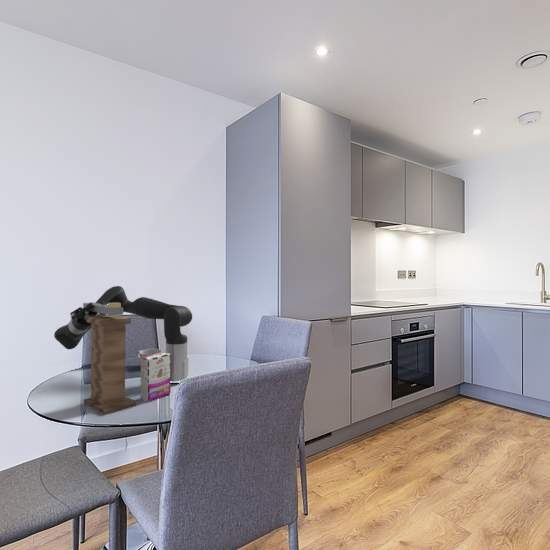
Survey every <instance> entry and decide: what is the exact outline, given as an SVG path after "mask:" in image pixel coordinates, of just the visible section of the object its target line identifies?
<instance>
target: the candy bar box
mask: <svg viewBox="0 0 550 550" xmlns="http://www.w3.org/2000/svg"><path fill="white" fill-rule="evenodd" d="M170 378H171V377H170V354H169V353H166V352H165V351H164V352H162V353H158V354H154V355H150V356H146V357H142V358H141V364H140V400H141V399H142V400H141V401H143V400H145V401H144V402H147V401H150V402H152V400H153V401H155V399H156V400H158V399H160V397H161V398H164V397H166V396H169V395H171V394H170V393H171V392H172V391H171V388H172V387H171V384H170ZM168 394H169V395H168ZM165 395H166V396H165ZM163 396H164V397H163ZM157 398H158V399H157Z"/></svg>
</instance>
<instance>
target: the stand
mask: <svg viewBox="0 0 550 550" xmlns="http://www.w3.org/2000/svg"><path fill="white" fill-rule="evenodd" d="M86 322H89V323H92V328H91V333H90V334H91V336H90V337H91V344H90V345H91V349H90V352H91V353H90V354H91V355H90V356H91V358H90V359H91V360H90V361H91V362H90V364H91V366H90V397H89V398H88V397H87V398H84V399H83V401H84V402H83V404H85V405H86V406H88V407H90V408H91V407H92V408H91V409H93V408H94V409H93V410H95V409H96V410H95V411H97V412H98V411H99V412H98V413H100V412H101V413H100V414H102V413H103V414H102V415H104V416H106V415H109V414H112V413H116V412H119V411H123V409H124V410H126V409H130V407H131V408H133V406H134V407H137V406H136V405H138V402H137V401H136V400H134V399H132V398H130V397H128V396H126V335H127V334H126V333H127V332H126V328H127V327H126V325H129V324H132V317H128V316H123V315H113V316H112V315H107V314H106V315H99V316H87V319H86ZM105 414H106V415H105Z"/></svg>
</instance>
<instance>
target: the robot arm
mask: <svg viewBox="0 0 550 550" xmlns="http://www.w3.org/2000/svg"><path fill="white" fill-rule="evenodd" d="M116 302H117V303H121V307H122V308H123V313H127V314H133V315H135V316H138V317H142V318H145V319H152V320H163V334H164V339H165V353H169V354H170V377H171V378H170V381H179V380H180V381H181V380H183V379H185V378H187V376H188V377H189V358H188V335H186V334H184V333H182V332H181V327H185V326H188V325H189V324H190V323H191V322H192V320H193V313H192V311H191V309H190V308H188V306H187V307H186V305H185V306H184V305H176V304H169V303H166V302H163V301H160V300H156V299H153V298H149V297H146V296H145V297H144V296H142V297H138V298H136V299H134V300H133V301H131V300H129V299H128V296H127V294H126V292H125V289H124V288H123V287H122V286H120V285H116V286H111V287H110V288H108V289H107V290H105V291H104V292H103V294H102V295H101V296H100V297H99V298H98V299H97V300H96V301H95V303H99V304H105V305H108V303H116ZM88 303H89V304H88V305H87V306H85V307H84V308H83V307H82V306H79V307H78V308H76V309H75V310H73V311H71V312H70V313H69V314H70V321H69V322H68V323H67V324H65V325H63V326H61V327H58V328H57V329H56V330H55V332H54V335H53V337H54V339H55V340H56V341H57V342H59V343H60V344H61V346H63V348H65V349H66V350H73V349H76V347H77V346H78V345H79V344H80V342H81V340H82V339H83V337H84V336H85V334H86V333H87V332H89V331H91V330H92V323H89V322H86V319H87V316H99V315H107V314H103V313H98V312H93V311H90V310H91V309H92V308H93V303H94V302H88Z"/></svg>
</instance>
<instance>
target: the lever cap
mask: <svg viewBox="0 0 550 550" xmlns="http://www.w3.org/2000/svg"><path fill="white" fill-rule="evenodd" d="M89 303H90V302H83V303H82V306H83V307H82V308H84V307H85V306H87V305H88V304H89ZM92 303H93V308H92V309H91V310H90V311H93V312H98V313H103V314H106V315H112V316H113V315H119V316H123V315H124V312H123V308H122V307H121V303H117V302H116V303H108V304H107V305H105V304H99V303H96V302H92Z"/></svg>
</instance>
